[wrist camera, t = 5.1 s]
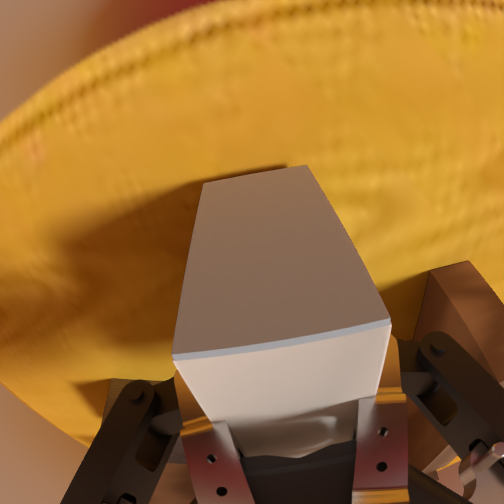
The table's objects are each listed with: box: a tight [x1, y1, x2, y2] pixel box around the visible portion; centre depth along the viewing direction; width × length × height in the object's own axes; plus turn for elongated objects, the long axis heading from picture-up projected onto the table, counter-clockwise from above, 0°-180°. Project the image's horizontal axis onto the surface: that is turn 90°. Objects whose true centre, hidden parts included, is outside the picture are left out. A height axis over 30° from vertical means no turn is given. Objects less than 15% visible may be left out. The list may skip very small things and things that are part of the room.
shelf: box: [149, 261, 504, 504], centre depth 18 cm, size 27×17×9 cm, turn 100°
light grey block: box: [171, 165, 392, 458], centre depth 11 cm, size 4×9×8 cm, turn 10°
